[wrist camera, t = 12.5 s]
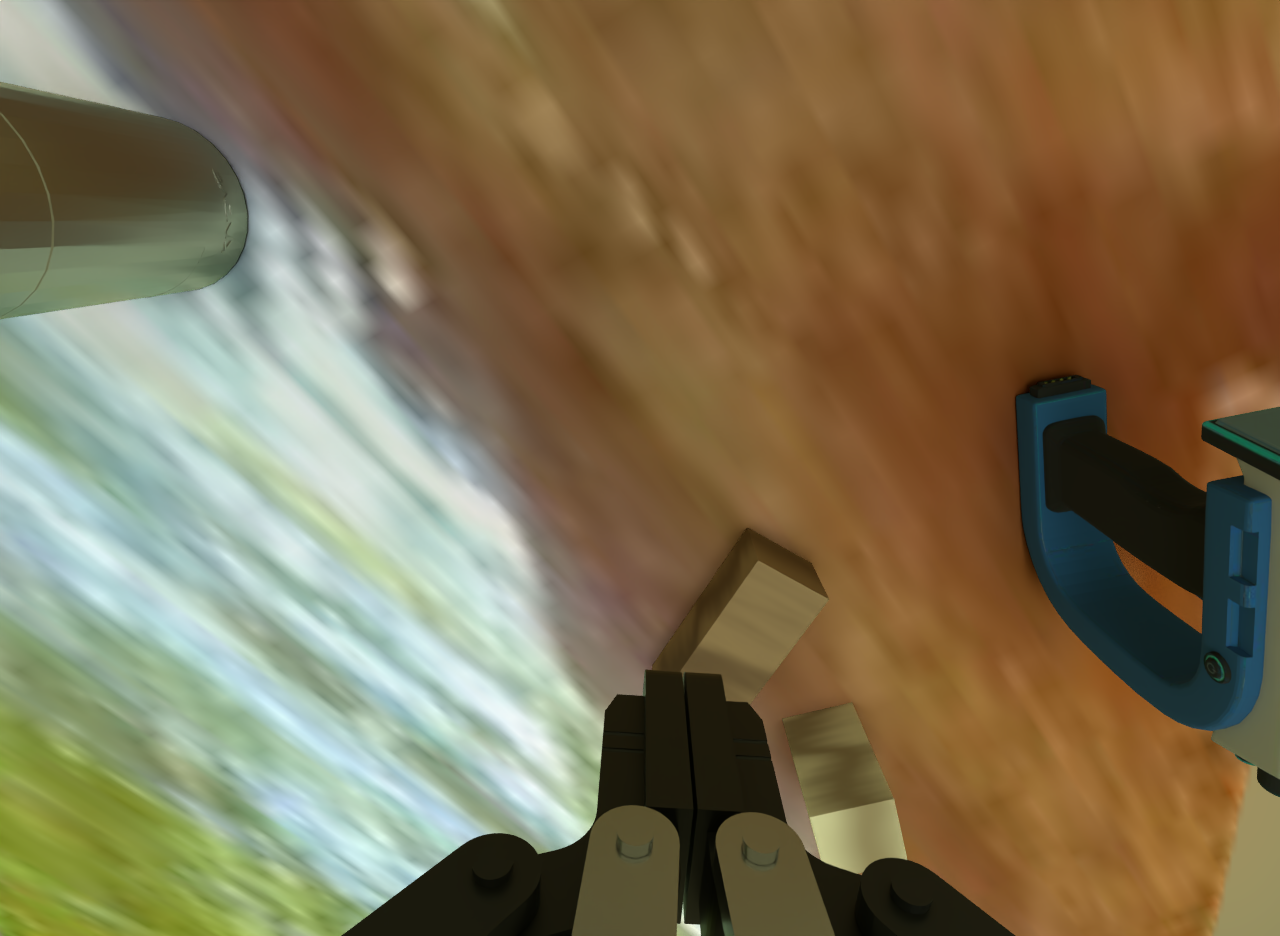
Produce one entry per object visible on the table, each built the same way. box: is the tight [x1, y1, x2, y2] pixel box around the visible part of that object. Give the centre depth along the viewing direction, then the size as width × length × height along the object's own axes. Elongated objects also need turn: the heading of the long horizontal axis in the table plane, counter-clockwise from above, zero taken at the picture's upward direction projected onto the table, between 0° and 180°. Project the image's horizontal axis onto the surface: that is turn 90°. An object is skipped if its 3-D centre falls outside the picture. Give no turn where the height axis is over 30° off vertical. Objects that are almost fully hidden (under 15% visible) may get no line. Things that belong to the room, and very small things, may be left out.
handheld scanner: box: [1016, 375, 1280, 797], centre depth 36 cm, size 5×16×20 cm, turn 12°
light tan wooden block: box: [652, 528, 829, 705], centre depth 47 cm, size 5×5×12 cm
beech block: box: [782, 703, 907, 874], centre depth 48 cm, size 5×5×9 cm
